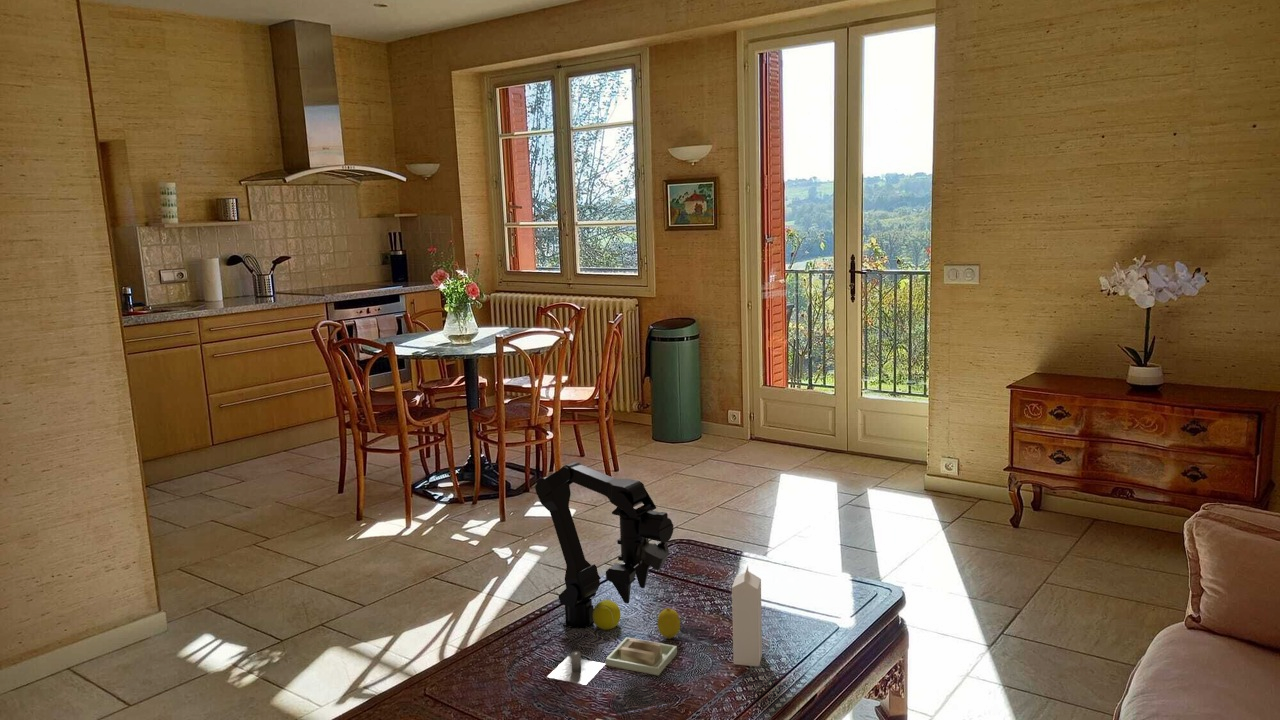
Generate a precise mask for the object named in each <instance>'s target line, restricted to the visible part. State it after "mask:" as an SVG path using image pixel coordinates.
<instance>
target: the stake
mask: <svg viewBox="0 0 1280 720" xmlns="http://www.w3.org/2000/svg"><path fill="white" fill-rule="evenodd" d="M605 665H606V662H605V663H604V662H598V661H594V660H588V659H584V658H582V657H581V651H579V650H573V651H572V652H571V653H570V656H568V655H567V657H565V658H564V660H563V661H562V662H561V663H559V664H558V666H556V667H555V668H554V669H553V670H552V671H551V672H550V673H549V674H548V675H547V676H546V678H549V679H554V680H560V681H564V682H568V683H572V684H578V685H582V686H587V685H588V683H590V681H592V679H594V677H595V676H596V675H597V674H598V673H599V672H600V671H601V670H602V669H603V667H604V666H605Z"/></svg>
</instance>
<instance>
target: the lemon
mask: <svg viewBox="0 0 1280 720" xmlns="http://www.w3.org/2000/svg"><path fill="white" fill-rule="evenodd" d="M657 628H658V631H659V633H660V635H661V636H662V637H664V638H667V639H668V640H670V639H672V638H674V637H676V636H677V635H678V634H679V631H680V629H681V619H680V615H679V613H678V612H677V611H676V610H674V609H672V608H670V607H666V608H664V609H663V610H661V612H660V613H659V615H658V616H657Z"/></svg>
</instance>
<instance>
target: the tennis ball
mask: <svg viewBox="0 0 1280 720" xmlns="http://www.w3.org/2000/svg"><path fill="white" fill-rule="evenodd" d="M621 615H622V614H621V609H620V607H619V605H618V604H617V603H616V602H614V601H613V600H608V599H607V600H602V601H599V602H598V603H597V604H596V605H595V606H594V610H593V620H594V621H593V623H594V624H595V626H596V627H598V628H599V629H601V630H612V629H614V628H615V627H616V626H618V624H619V622H620V620H621Z"/></svg>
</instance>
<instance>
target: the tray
mask: <svg viewBox="0 0 1280 720" xmlns="http://www.w3.org/2000/svg"><path fill="white" fill-rule="evenodd" d="M631 638H632V639H635V638H633V637H629V636H626V637H625V638H624V639H623V640H622V641H621V642H620V643H619V644H618V645H617V646H616V647H615V648H614V650H613V651H612V652H611V653H610V654H609V655H608V656H607V657H606V658H605V665H606V666H608V667H612V668H617V669H623V670H629V671H633V672H638V673H643V674H648V675H653V676H660V674H661V673H662V672H663V671H664V670H665V668H666V667H667V666H668V665H669V664H671V663H672V661H673V659H675V657H676V656H677V654H678V646H677V645H673V644H667V643H662V642H659V643H660V644H662V657H661V658H660V659H659V660H658V661H657V663H656V664H655V665H654V666H648V665H643V664H638V663H633V662H627V661H622V660H621V656H618V649H619V648H620V646H622V647H623V646H624V645H625V644H626V643H627V642H628V641H629V640H630V639H631ZM637 639H638V638H637ZM638 640H641V639H638ZM642 640H643V641H646V640H645V639H642ZM648 641H649V642H652V641H650V640H648ZM653 642H654V643H658V642H657V641H653Z"/></svg>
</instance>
